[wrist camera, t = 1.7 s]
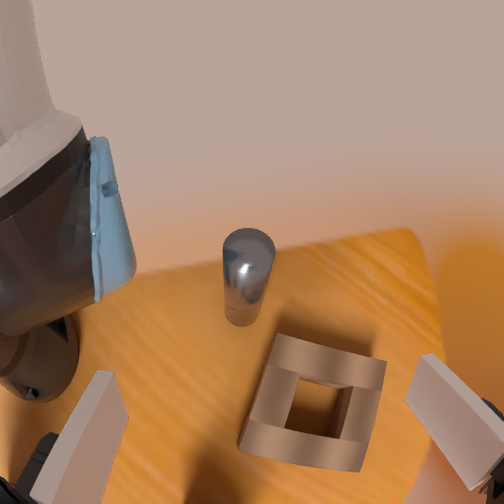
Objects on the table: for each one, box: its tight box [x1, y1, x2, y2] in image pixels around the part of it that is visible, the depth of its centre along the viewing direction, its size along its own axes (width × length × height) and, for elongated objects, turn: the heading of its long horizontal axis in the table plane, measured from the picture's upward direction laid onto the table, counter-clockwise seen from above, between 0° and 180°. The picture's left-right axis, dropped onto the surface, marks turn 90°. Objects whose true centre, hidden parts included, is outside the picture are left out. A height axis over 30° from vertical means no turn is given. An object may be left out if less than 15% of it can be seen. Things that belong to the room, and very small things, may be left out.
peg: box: [223, 228, 275, 327], centre depth 28 cm, size 4×4×14 cm
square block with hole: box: [237, 333, 387, 472], centre depth 26 cm, size 13×13×4 cm
